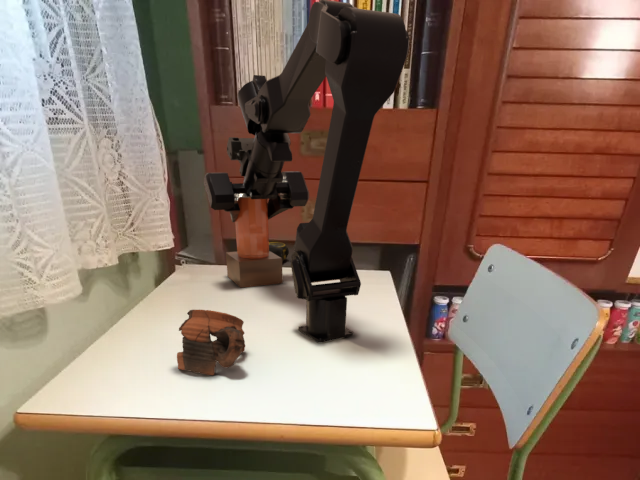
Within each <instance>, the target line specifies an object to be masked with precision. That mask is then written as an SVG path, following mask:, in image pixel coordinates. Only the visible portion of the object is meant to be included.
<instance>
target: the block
mask: <svg viewBox="0 0 640 480" xmlns="http://www.w3.org/2000/svg"><path fill="white" fill-rule="evenodd" d="M225 260H226V273H227V274H226V275H227V277H228V278H229V279H230V280H231V281H232V282H233V283H234V284H236V286H238V287H239V288H241V289H242V288H243V289H244V288H250V287H251V288H253V287H260V286H270V285H278V284H283V261H282V258H281V257H279V256H277V255H276V254H274V253H272V252H270V251H269V256H268V257H265V258H259V259H247V258H241V257H239V256H238V255H237V250H236V251H226V252H225Z"/></svg>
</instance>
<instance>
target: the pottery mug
mask: <svg viewBox="0 0 640 480" xmlns="http://www.w3.org/2000/svg"><path fill="white" fill-rule="evenodd" d="M187 315H188V318H187V319H185V320H184V322H182V323H181V324H180V326H179V328H178V331H179V332H180V335H181V336H182V341H181V342H182V351H178V352H177V353H176V361H177V369H178V370H182V371H189V372H191V373H195V374H202V375H207V376H214V375H215V371H216V365H217V363H218V365H220V367H222V368H224V369H228V368H231V367H232V366H234V365H235V363H236V361H237V359H238V358H239V357H240V355H241V354H242V353H244V352H245V349H246V341H245V338H244V335H245V331H244V330H243V325H244V323H245V321H244V320H243V319H241V318H240V317H238V316H235V315H232V314H229V313H226V312H221V311H217V310H211V309H189V310H188V312H187ZM212 337H216V339H215V340H212Z"/></svg>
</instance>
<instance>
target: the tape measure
mask: <svg viewBox="0 0 640 480" xmlns="http://www.w3.org/2000/svg"><path fill="white" fill-rule="evenodd" d="M269 251H270V252H272V253H274V254H276V255H277V256H279V257H281V258H282V262H284V261H285V260H287V258H288V255H289V253H290V250H289V247H288V246H287V244H285V243H283V242H279V241H269Z"/></svg>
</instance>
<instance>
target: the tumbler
mask: <svg viewBox="0 0 640 480" xmlns="http://www.w3.org/2000/svg"><path fill="white" fill-rule="evenodd" d="M238 204H239V208H240V212H239V214H238V217H237V219H236V221H235V222H234V224H235V225H234V226H235V227H234V228H235V239H236V251H237V255H238V256H239V257H241V258H247V259H259V258H265V257H268V256H269V242H270V239H269V238H270V237H269V235H270V234H269V220H268V199H251V198H239V200H238Z"/></svg>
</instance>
